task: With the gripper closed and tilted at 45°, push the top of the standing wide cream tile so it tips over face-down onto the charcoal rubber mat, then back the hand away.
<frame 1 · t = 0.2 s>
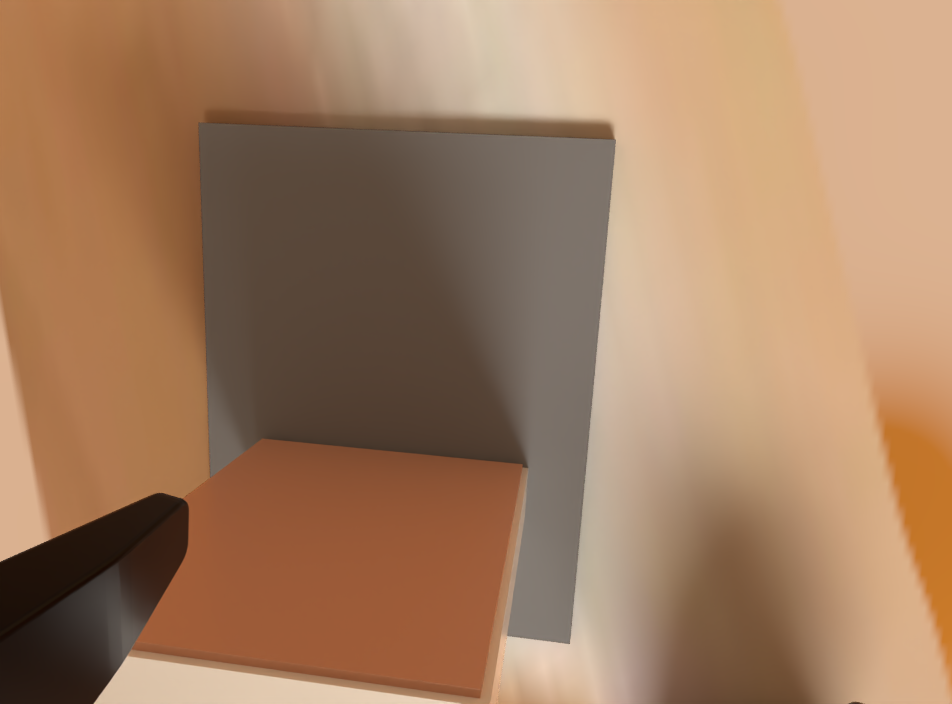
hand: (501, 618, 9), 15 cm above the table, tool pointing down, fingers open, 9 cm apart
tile: (390, 475, 25), resting on mat
mat: (395, 391, 25), on the table
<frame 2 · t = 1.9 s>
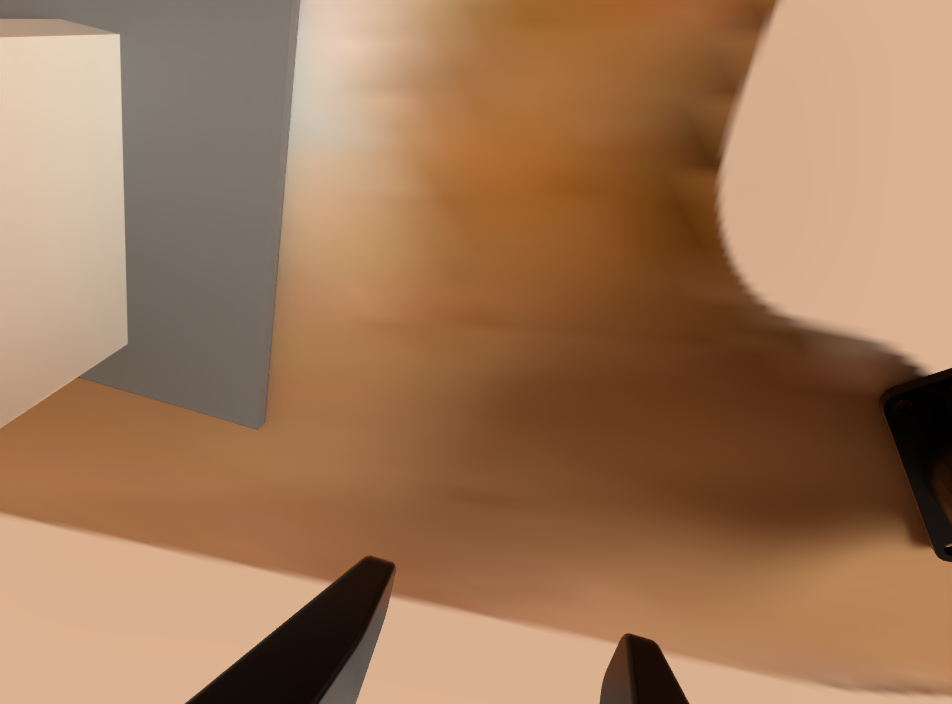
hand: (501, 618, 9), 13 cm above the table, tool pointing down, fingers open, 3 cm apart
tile: (94, 197, 22), resting on mat
mat: (18, 170, 22), on the table
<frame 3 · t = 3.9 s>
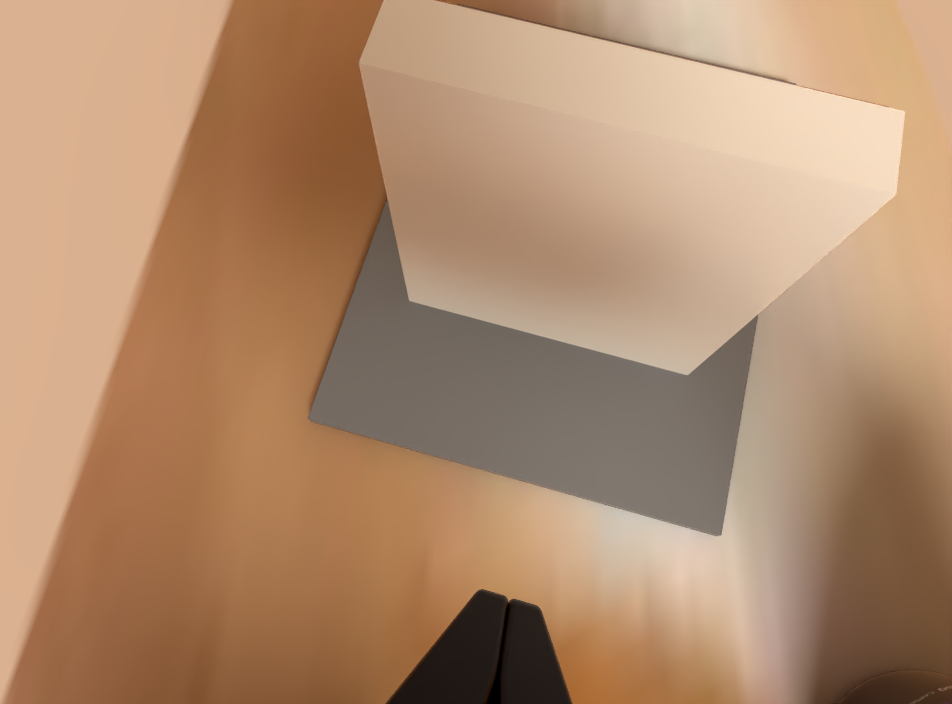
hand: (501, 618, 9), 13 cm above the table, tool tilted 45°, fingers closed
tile: (553, 311, 24), resting on mat
mat: (570, 242, 26), on the table
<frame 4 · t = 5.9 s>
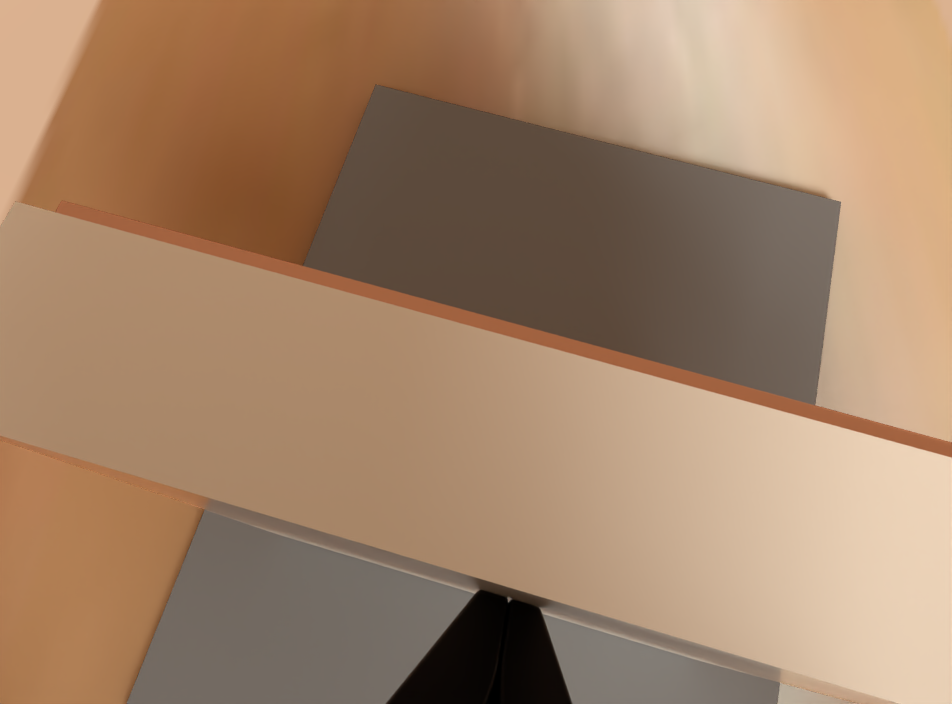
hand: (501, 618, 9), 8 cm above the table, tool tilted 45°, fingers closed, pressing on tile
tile: (494, 553, 16), point 1 cm above the table, touching gripper, mat
mat: (524, 436, 18), on the table
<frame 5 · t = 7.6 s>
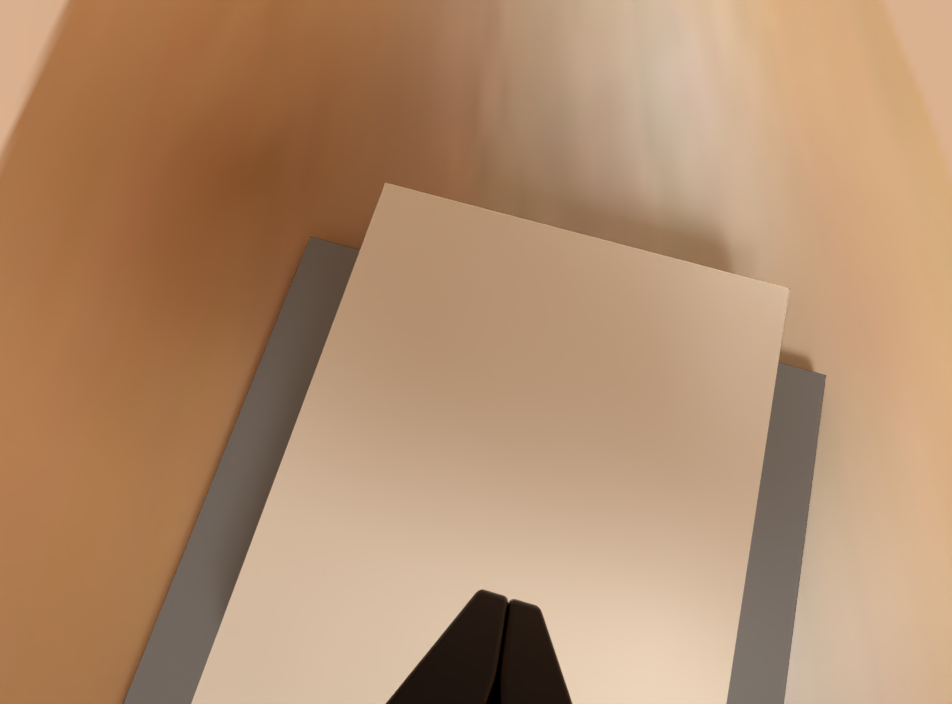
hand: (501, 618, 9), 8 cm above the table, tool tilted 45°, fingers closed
mat: (467, 660, 16), on the table
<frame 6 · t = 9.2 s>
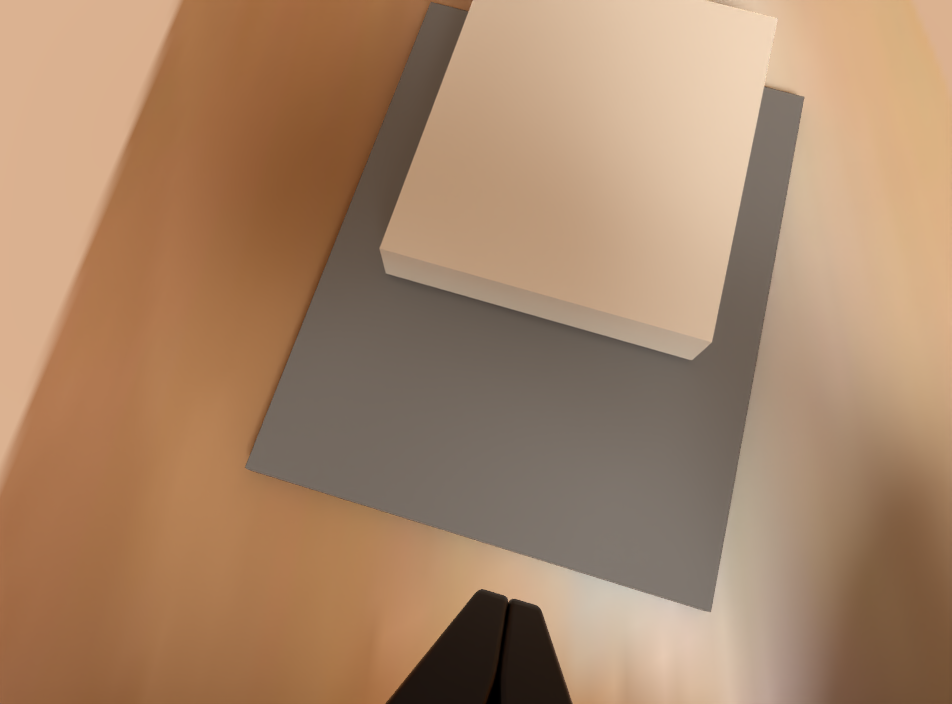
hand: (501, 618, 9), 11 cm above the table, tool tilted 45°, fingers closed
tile: (539, 307, 21), point 1 cm above the table, tilted 90°, touching mat
mat: (549, 270, 23), on the table
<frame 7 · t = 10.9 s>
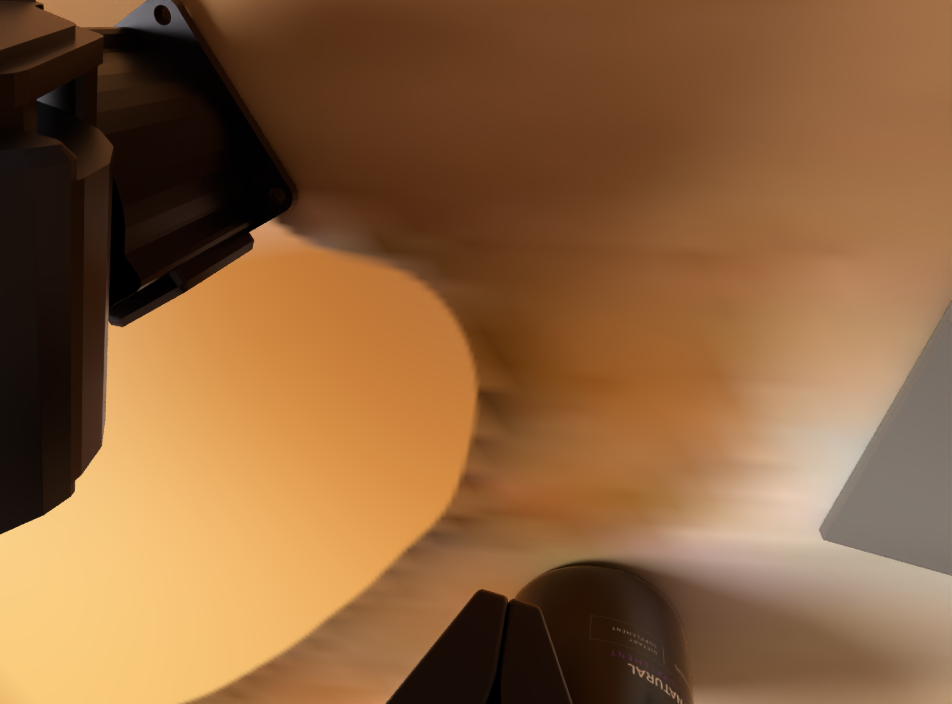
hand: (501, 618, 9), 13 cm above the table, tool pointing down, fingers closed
supplement bottle: (592, 621, 27), on the table
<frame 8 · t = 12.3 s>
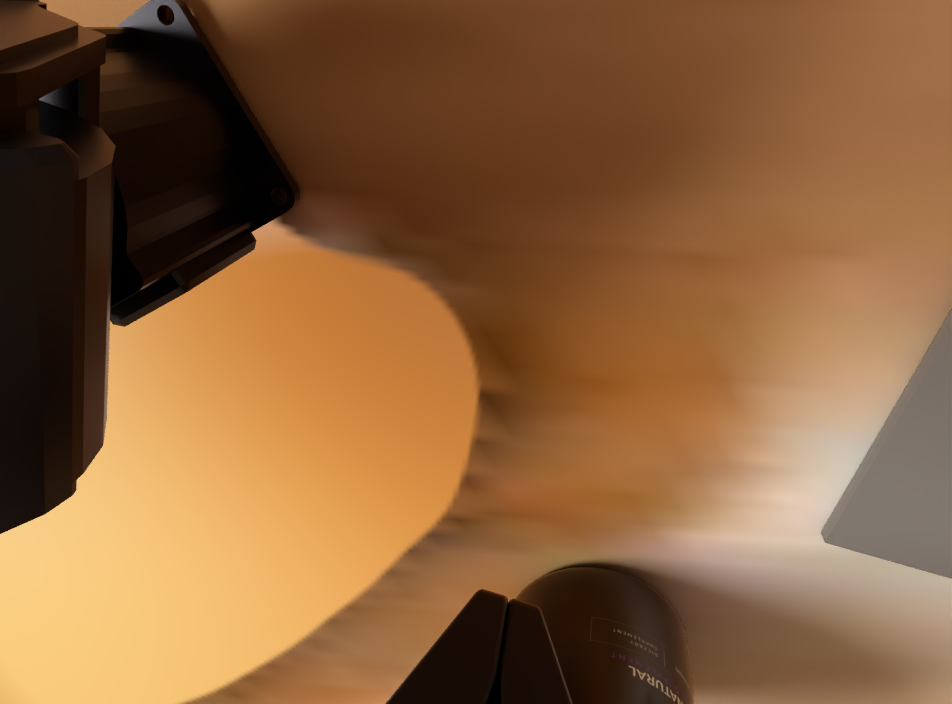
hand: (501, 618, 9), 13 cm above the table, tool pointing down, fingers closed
supplement bottle: (593, 623, 27), on the table
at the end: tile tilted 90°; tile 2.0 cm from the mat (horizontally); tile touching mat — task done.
